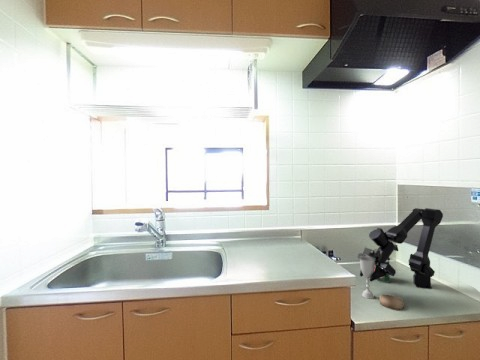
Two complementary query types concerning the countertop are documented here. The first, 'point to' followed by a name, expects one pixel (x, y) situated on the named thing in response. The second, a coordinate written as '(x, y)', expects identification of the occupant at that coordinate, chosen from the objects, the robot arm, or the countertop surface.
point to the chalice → (367, 272)
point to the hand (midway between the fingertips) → (365, 278)
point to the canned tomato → (384, 278)
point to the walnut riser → (391, 302)
